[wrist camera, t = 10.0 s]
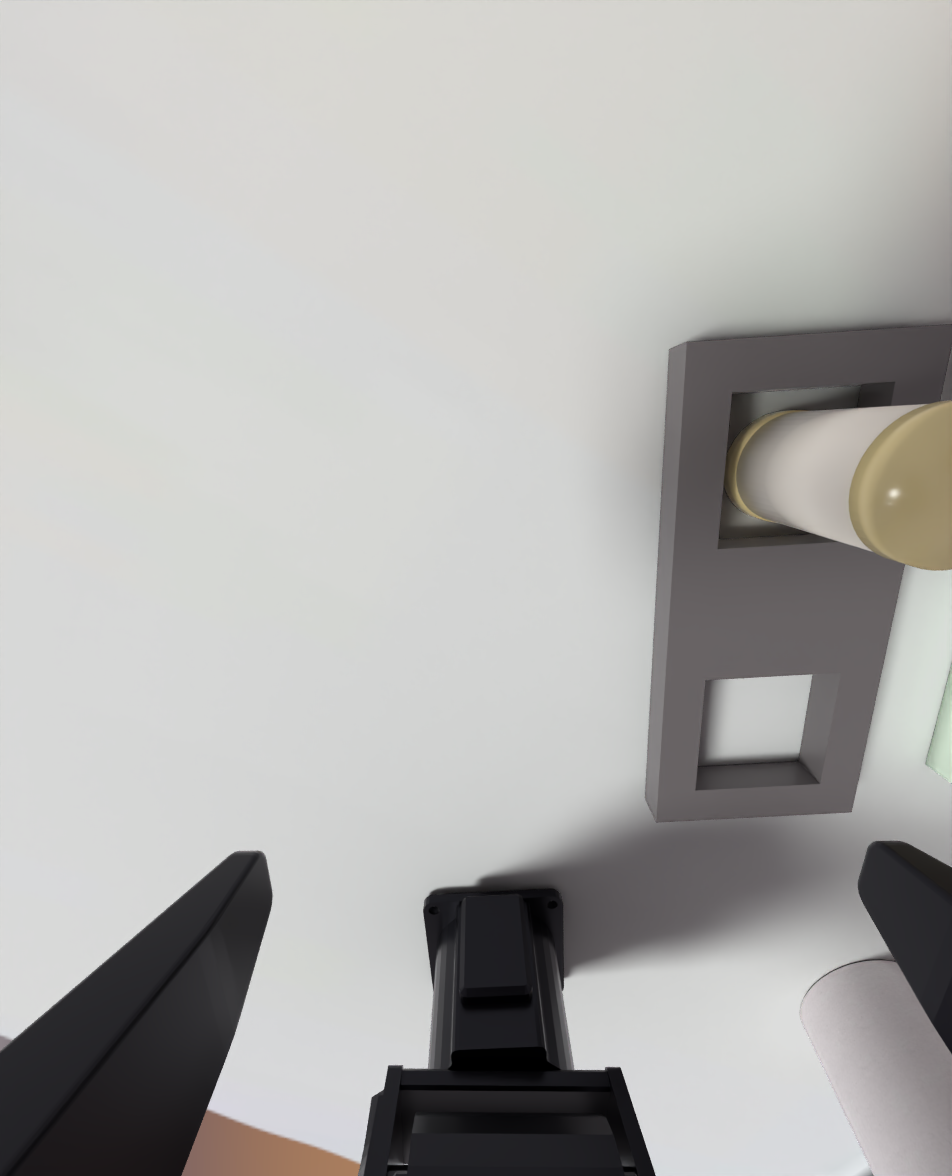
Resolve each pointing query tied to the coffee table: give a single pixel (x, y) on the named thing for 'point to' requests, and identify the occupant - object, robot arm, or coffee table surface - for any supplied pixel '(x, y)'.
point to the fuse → (853, 477)
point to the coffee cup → (884, 1067)
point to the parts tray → (943, 737)
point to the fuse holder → (769, 579)
